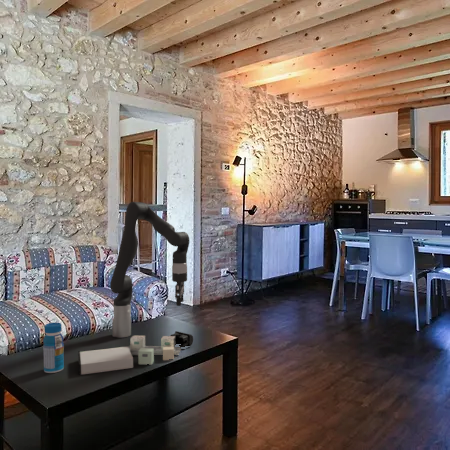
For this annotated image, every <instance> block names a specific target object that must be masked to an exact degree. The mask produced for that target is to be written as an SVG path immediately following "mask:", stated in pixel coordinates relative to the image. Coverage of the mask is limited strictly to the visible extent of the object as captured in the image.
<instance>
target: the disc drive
mask: <svg viewBox="0 0 450 450" xmlns="http://www.w3.org/2000/svg"><path fill="white" fill-rule="evenodd" d="M77 355H78V358H77V359H78V373H79V376H82V375H88V374H89V375H90V374H96V373H103V372H111V371H119V370H124V369H133V368H134V357H133V355H131V352H130V350H129V345H128V346H120V347H111V348H104V349H103V348H101V349H95V350H94V349H93V350H85V351H78V353H77Z"/></svg>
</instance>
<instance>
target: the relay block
mask: <svg viewBox="0 0 450 450" xmlns="http://www.w3.org/2000/svg"><path fill="white" fill-rule="evenodd" d="M169 359H174V360H175V356H174V347H163V356H162V361H170V360H169Z"/></svg>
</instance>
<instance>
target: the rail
mask: <svg viewBox="0 0 450 450" xmlns="http://www.w3.org/2000/svg"><path fill="white" fill-rule="evenodd" d="M160 340H161V341H160V344H161V345H159V346H158V345H154V346H153V345H146V335H135V334H134V335H132V336H131V337H130V341H129V342H130V345H128V348H129V350H130V352H131V355H132V356H139V355H138V351H139V350H140V349H141V348H150V349H154V355H163V347H174V355H179V356H180V354H181V352H182V349H181V347H175V336H170V335H169V336H168V335H162V337H161V338H160ZM180 351H181V352H180ZM179 353H180V354H179Z"/></svg>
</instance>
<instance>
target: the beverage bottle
mask: <svg viewBox="0 0 450 450" xmlns="http://www.w3.org/2000/svg"><path fill="white" fill-rule="evenodd" d="M44 332H45V335H44V337H43V340H42V342H43V345H42V351H43V353H42V354H43V372H44V373H47V374H54V373H55V374H56V373H58V372H61V371H63V370H64V368H65V365H64V364H65V363H64V362H65V360H64V353H65V352H64V351H65V350H64V348H65V344H64V336H63V334H62V333H61V332H62V323H61V322H50V323H46V324H44Z"/></svg>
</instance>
